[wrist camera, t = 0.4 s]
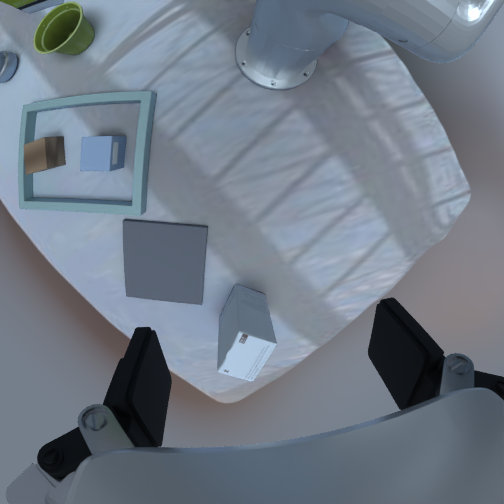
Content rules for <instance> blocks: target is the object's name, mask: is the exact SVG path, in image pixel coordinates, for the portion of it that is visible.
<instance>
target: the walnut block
mask: <svg viewBox="0 0 504 504" xmlns="http://www.w3.org/2000/svg"><path fill="white" fill-rule="evenodd" d="M23 146H24V160H25V170H26V175H27V174H31V173H35V172H39V171H43V170H47V169H51V168H55V167H58V166H62V165H66V162H65V151H64V137H44V138H41V139H39V140H36V141H33V142H30V143H28V144H25V145H23Z"/></svg>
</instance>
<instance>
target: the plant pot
mask: <svg viewBox="0 0 504 504" xmlns="http://www.w3.org/2000/svg"><path fill="white" fill-rule="evenodd" d="M93 39H94V29H93V28H92V26H91V25H90V24H89V22H88V21H87V20H86V18H85V17H84V15H83V10H82V7H81V6H80V5H79V4H78V3H76V2H66V3H63V4H60V5H59V6H57V7H55V8H54V9H52V10H51V11H50V12H49V13H48V14H47V15H46V16H45V17H44V18H43V19H42V21H41V22H40V24H39V25H38V28H37V29H36V32H35V35H34V40H33V43H34V48H35V50H36V51H37V52H39V53H41V54H49V53H52V52H58V53H65V54H70V55H77V54H80V53H82V52H83V51H85V50H86V49H87V47H88V46H89V45H90V43H91V42H92V41H93Z"/></svg>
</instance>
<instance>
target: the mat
mask: <svg viewBox="0 0 504 504" xmlns="http://www.w3.org/2000/svg"><path fill="white" fill-rule="evenodd" d="M207 230H208V226H200V225H189V224H178V223H166V222H154V221H142V220H129V219H125V220H123V252H124V272H125V286H126V296H128V297H136V298H144V299H152V300H160V301H169V302H178V303H188V304H198V305H202V299H203V282H204V268H205V254H206V241H207Z"/></svg>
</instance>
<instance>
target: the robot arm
mask: <svg viewBox="0 0 504 504" xmlns="http://www.w3.org/2000/svg"><path fill="white" fill-rule="evenodd" d="M503 3H504V0H257V1H256V6H255V10H254V14H253V19H252V23H251V26H250V27H249V28H247V29H246V30H245V31H244V32H243V33H242V34H241V36H240V37H239V39H238V41H237V44H236V50H235V55H236V61H237V65H238V66H239V68H240V70H241V72H242V73H243V74H244V75H245V77H247V78H248V79H249V80H250V81H251V82H253V83H255V84H257V85H258V86H261V87H264V88H267V89H271V90H287V89H291V88H295V87H297V86H299V85H301V84H303V83H304V82H305V81H307V80H308V79H309V78H310V77H311V75H312V74H313V72H314V71H315V68H316V65H317V57H318V56H319V55H321V54H322V53H323V52H324V51H325V50H326V49H327V48H329V47H330V46H331V45H332V44H333V43H334V42H335V41H337V40H338V39H339V38H340V37H341V36H342V35H343V33H344V32H345V30H346V28H347V26H348V23H349V20H350V21H352V22H354V23H356V24H359V25H362V26H364V27H366V28H368V29H370V30H372V31H374V32H376V33H378V34H380V35H382V36H384V37H386V38H388V39H390V40H391V41H393V42H395V43H397V44H398V45H400V46H402V47H404V48H406V49H407V50H409V51H411V52H412V53H414V54H416V55H418V56H419V57H421V58H423V59H426V60H428V61H431V62H436V63H447V62H452V61H454V60H456V59H459V58H460V57H462V56H463V55H465V54H466V53H467V52H468V51H469V50H470V49H471V48H472V47H473V46H474V45H475V44H476V43H477V41H478V40H479V39H480V38H481V36H482V35H483V33H484V32H485V31H486V29H487V27H488V26H489V25H490V23H491V22H492V20H493V19H494V17H495V15H496V14H497V13H498V11H499V9H500V8H501V6H502V5H503ZM247 34H249V36H248V35H247ZM242 63H244V64H245V65H244V66H243V65H242ZM303 74H306V76H304V75H303ZM271 84H274V86H271ZM443 354H444V351H443V350H442V349H441V348H440V347H439V346H438V345H437V343H436V342H435V341H434V340H433V339H432V338H431V337H430V336H429V334H428V333H427V332H426V331H425V330H424V329H423V328H422V327H421V326H420V325H419V323H418V322H417V321H416V320H415V319H414V318H413V317H412V316H411V315H410V314H409V313H408V312H407V311H406V310H405V309H404V307H403V306H401V305H400V303H399V302H398V301H397V300H396V299H395V298H387V299H382V300H381V301H380V303H379V304H377V307H376V313H375V318H374V324H373V329H372V334H371V339H370V344H369V348H368V355H369V358H370V360H371V361H372V363H373V365H374V366H375V368H376V370H377V371H378V373H379V375H380V376H381V378H382V380H383V381H384V383H385V385H386V387H387V388H388V390H389V392H390V393H391V395H392V397H393V399H394V400H395V402H396V404H397V405H398V407H399V409H400V410H401V411H398V412H395V413H392V414H389V415H386V416H384V417H380V418H377V419H374V420H371V421H367V422H364V423H361V424H357V425H354V426H350V427H346V428H342V429H338V430H334V431H330V432H325V433H321V434H316V435H311V436H306V437H300V438H295V439H289V440H282V441H276V442H268V443H260V444H251V445H240V446H227V447H226V446H225V447H201V448H199V447H198V448H168V447H167V448H165V447H161V445H162V441H163V433H164V427H165V420H166V414H167V407H168V401H169V395H170V389H171V382H172V380H171V375H170V372H169V369H168V367H167V364H166V361H165V358H164V355H163V352H162V349H161V346H160V343H159V340H158V337H157V334H156V332H155V330H151V328H150V327H137V328H136V329H135V331H134V334H133V336H132V338H131V341H130V343H129V346H128V348H127V351H126V353H125V356H124V358H122V359H120V361H119V363H118V366H117V368H116V370H115V373H114V375H113V378H112V381H111V383H110V386H109V388H108V391H107V394H106V397H105V399H104V402H103V405H101V404H95V405H94V404H93V405H91V406H88V407H86V408H85V409H84V410H83V411H82V412H81V413H80V415H79V417H78V425H79V427H77V428H75V429H73V430H72V431H70V432H68V433H66V434H64V435H62V436H61V437H59V438H57V439H55V440H53V441H51V442H49V443H47V444H45V445H44V446H43V447H42V448H41V449H40V450H39V453H38V456H37V461H38V463H37V464H36V465H35V464H33V463H32V464H31V465H30V466H29V467H28V468H27V469H26V470H25V471H24V472H23V473H22V474H21V475H20V476H19V477H18V478H16V479H15V480H14V481H13V482H12V483H11V484H10V485H9V486H8V488H7V490H6V498H7V501H8V503H9V504H504V377H502V376H497V375H493V374H488V373H483V372H480V371H475V370H474V365H473V362H472V361H471V360H470V359H469V358H468V357H467V356H465V355H463V354H457V353H455V354H450V355H448V356H447V357H445V356H444V355H443ZM158 446H160V447H158Z"/></svg>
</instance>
